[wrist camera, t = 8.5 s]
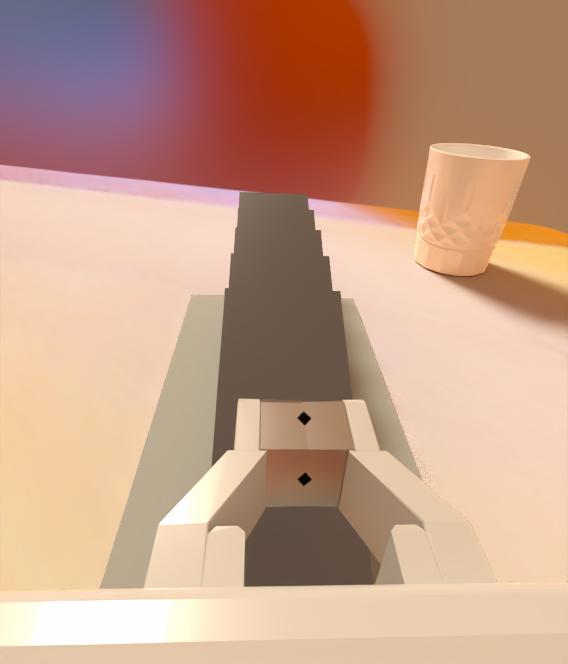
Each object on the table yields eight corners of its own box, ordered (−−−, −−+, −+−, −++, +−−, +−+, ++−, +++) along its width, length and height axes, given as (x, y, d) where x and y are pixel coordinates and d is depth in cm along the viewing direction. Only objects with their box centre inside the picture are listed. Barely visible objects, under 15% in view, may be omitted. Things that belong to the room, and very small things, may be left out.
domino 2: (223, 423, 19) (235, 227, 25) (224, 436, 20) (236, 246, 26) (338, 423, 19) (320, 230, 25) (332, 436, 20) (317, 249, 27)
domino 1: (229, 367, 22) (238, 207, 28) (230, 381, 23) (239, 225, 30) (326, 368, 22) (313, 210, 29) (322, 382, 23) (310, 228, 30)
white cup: (506, 265, 41) (545, 154, 36) (469, 288, 36) (507, 163, 31) (432, 242, 46) (457, 140, 41) (391, 259, 41) (412, 146, 36)
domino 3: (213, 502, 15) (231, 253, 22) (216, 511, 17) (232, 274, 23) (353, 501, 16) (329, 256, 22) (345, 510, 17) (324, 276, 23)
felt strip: (-15, 988, 8) (-25, 986, 8) (192, 301, 32) (191, 294, 32) (584, 948, 9) (597, 946, 9) (352, 305, 33) (353, 298, 32)
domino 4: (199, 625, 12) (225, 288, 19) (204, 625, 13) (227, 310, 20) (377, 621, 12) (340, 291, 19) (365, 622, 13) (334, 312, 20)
